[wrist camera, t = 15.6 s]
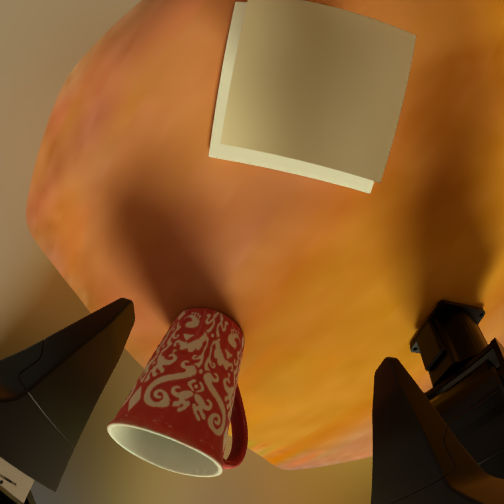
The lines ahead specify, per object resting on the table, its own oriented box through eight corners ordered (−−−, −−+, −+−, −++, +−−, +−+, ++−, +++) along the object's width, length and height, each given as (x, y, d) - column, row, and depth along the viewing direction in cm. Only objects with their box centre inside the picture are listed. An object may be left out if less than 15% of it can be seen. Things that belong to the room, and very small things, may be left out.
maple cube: (376, 55, 10) (416, 35, 6) (353, 153, 13) (380, 182, 8) (267, 28, 10) (249, -8, 6) (247, 127, 13) (220, 143, 8)
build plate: (403, 42, 13) (408, 40, 13) (367, 190, 19) (370, 194, 18) (238, 4, 14) (235, 1, 13) (212, 154, 20) (208, 157, 19)
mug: (148, 315, 28) (86, 423, 17) (215, 284, 25) (157, 424, 13) (221, 387, 33) (192, 487, 21) (287, 370, 29) (273, 489, 18)
